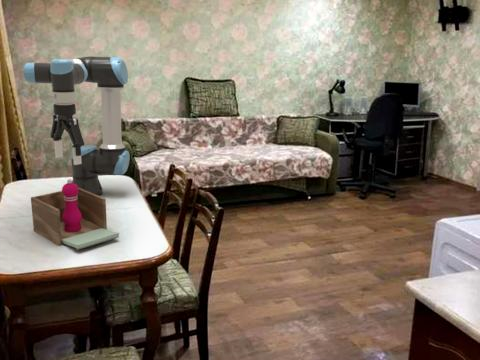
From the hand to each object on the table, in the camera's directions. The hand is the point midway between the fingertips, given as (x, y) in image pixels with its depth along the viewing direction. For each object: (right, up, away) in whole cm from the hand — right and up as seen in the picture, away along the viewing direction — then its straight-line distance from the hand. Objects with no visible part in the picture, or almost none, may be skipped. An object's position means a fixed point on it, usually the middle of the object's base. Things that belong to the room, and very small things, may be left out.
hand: (68, 160), depth 182 cm
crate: (-2, -27, +9) cm, 29 cm away
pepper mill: (-1, -26, +8) cm, 27 cm away
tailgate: (+4, -27, +3) cm, 28 cm away
